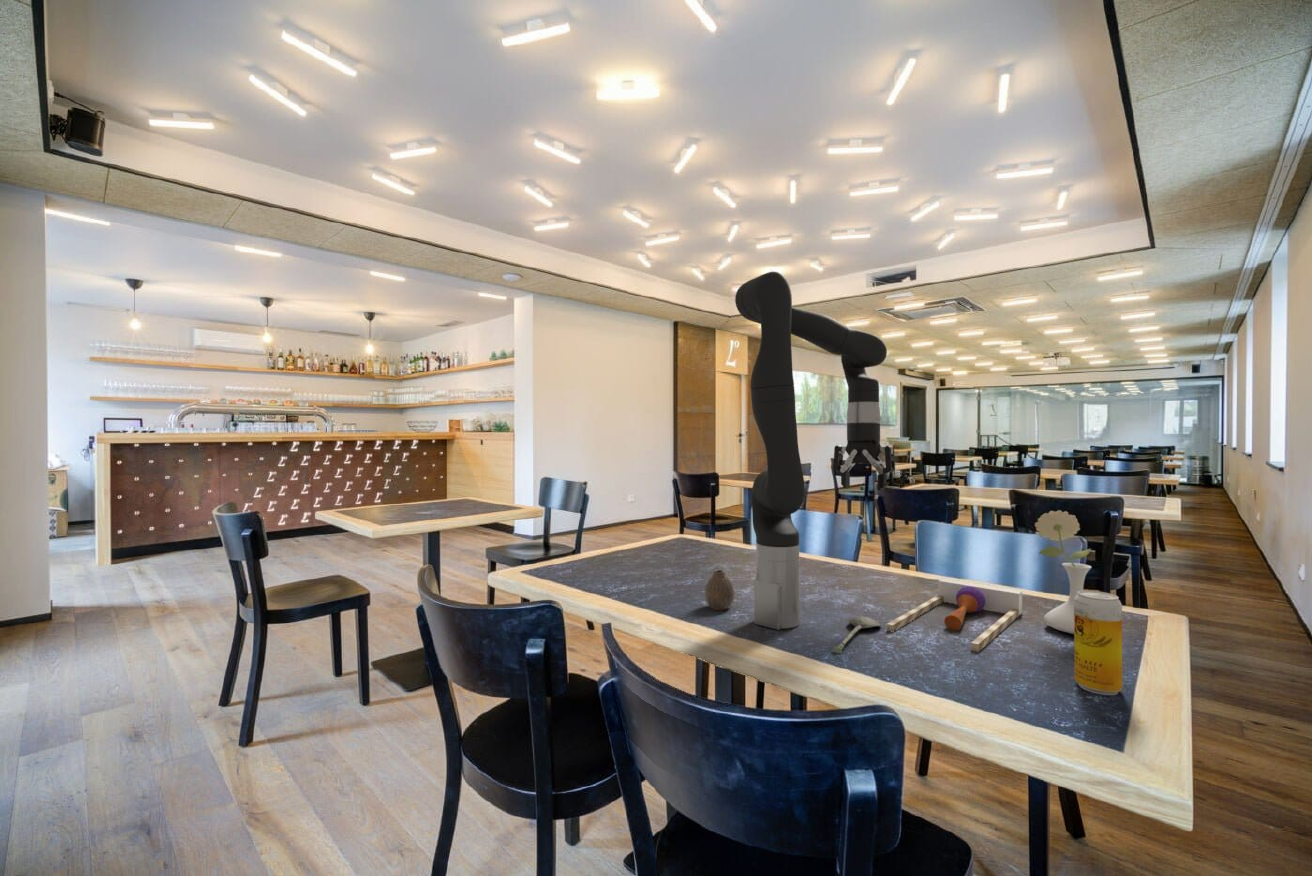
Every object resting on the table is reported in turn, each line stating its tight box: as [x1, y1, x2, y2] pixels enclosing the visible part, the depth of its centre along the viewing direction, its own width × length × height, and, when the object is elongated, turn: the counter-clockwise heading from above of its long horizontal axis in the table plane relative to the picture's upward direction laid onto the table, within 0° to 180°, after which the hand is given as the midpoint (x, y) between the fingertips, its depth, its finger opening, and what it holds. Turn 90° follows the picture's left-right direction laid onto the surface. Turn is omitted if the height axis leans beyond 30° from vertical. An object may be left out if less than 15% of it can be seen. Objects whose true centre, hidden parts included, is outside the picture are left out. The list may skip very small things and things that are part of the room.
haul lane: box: [886, 594, 1020, 653], centre depth 125 cm, size 31×17×2 cm, turn 136°
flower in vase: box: [1034, 509, 1092, 635], centre depth 120 cm, size 13×11×25 cm
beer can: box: [1073, 590, 1123, 696], centre depth 92 cm, size 6×6×15 cm
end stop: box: [937, 578, 1023, 616], centre depth 137 cm, size 3×17×5 cm, turn 46°
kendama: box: [943, 586, 985, 631], centre depth 128 cm, size 6×6×20 cm
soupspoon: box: [832, 616, 882, 654], centre depth 117 cm, size 22×3×7 cm
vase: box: [704, 569, 735, 611], centre depth 137 cm, size 7×7×9 cm
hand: (863, 489), depth 138 cm, fingers open, 8 cm apart
